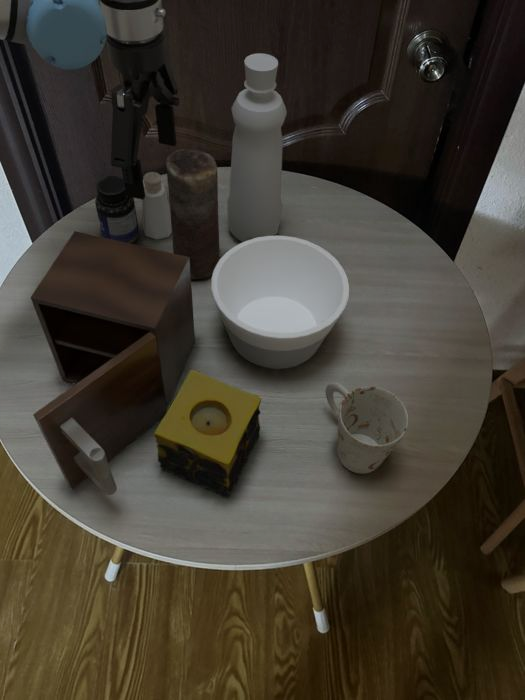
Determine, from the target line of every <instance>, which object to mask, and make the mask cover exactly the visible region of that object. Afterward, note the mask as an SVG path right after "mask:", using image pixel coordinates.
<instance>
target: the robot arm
mask: <svg viewBox="0 0 525 700" xmlns="http://www.w3.org/2000/svg"><path fill="white" fill-rule="evenodd" d="M162 4H163V2H162V0H0V40H2V41H7V42H12V43H16V44H21V45H25V46H31V48H32V49H34V50H35V52H36V53H37V54H38V55H39V57H40V58H42V59H43V60H44V61H45V62H47V63H49V64H50V65H52V66H53V67H56V68H58V69H61V70H78V69H82V68H84V67H86V66H89V65H90V64H92V63H93V62H94V61H95V60H97V58H98V57H99V56H100V55H101V53H102V51H103V49H104V47H105V44H106V47H107V52H108V53H107V55H108V59H109V62H110V64H111V66H112V67H113V68H115V69H116V70H117V71H118V72H119V74H121V89H120V90H118V89H112V91H111V96H110V97H111V105H112V123H111V124H112V125H111V149H110V152H111V153H110V165H111V167H115V168H120V169H121V174H122V178H123V180H124V185H125V191H126V196H129V197H133V198H134V199H137V200H138V199H139V200H142V199H143V200H144V198H145V191H144V187H145V185H144V180H143V177H144V176H143V171H142V170H143V169H142V164H141V159H139V158H138V155H139V154H138V153H139V147H140V140H141V134H142V126H143V119H144V116H146V114H147V113H148V109H149V102H150V100H151V98H152V97H153V99H154V101H156V102H157V103H156V104H155V106H154V111H155V119H156V129H157V136H158V144H162V145H166V146H171V147H176V145H177V132H176V122H175V111H174V110H175V109H174V106H176V107H178V106H179V105H180V98H179V97H177V95H178V93H179V86H178V84H177V80H176V78H175V75H174V73H173V69H172V67H171V64H170V62H169V58H168V52H167V44H166V43H167V42H166V33H165V31H164V17H166V10H165V8H163V5H162ZM174 95H175V96H174ZM134 105H138V106H134Z"/></svg>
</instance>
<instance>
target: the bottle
mask: <svg viewBox="0 0 525 700" xmlns="http://www.w3.org/2000/svg"><path fill="white" fill-rule="evenodd" d="M243 63H244V73H245V80H244V82H243V83H244V84H243V85H244V87H245V88H244V89H243V90H241V91H240V92H238V95H237V96H236V98H235V100H234V102H233V104H232V106H231V114H232V119H233V123H234V130H233V134H232V144H231V145H232V146H231V161H230V162H231V163H230V176H229V177H230V178H229V192H228V196H227V197H228V198H227V200H226V203H227V205H226V206H227V208H226V209H227V211H226V212H227V223H228V224H227V228H228V230H229V232H230V233H231V234H232V235H233V236H234V237H235V239H236V240H238V241H240V242H241V243H243V242H245V241H247V240H251V239H254V238H257V237H264V236H276V235H277V234H278V232H279V226H280V223H281V221H282V210H283V201H282V173H283V171H282V170H283V145H284V144H283V133H282V126H283V124H284V122H285V120H286V118H287V117H286V116H287V113H288V112H287V108H286V105H285V103H284V100H283V98H282V96H281V94H279V92H277V91H276V87H277V85H278V84H277V82H276V78H277V73H278V68H279V60H278V59H277V57H275V56H274V55H271V54H269V53H268V54H267V53H263V52H262V53H261V52H260V53H259V52H258V53H251V54H250V55H248V56H245V59H244V60H243Z"/></svg>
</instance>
